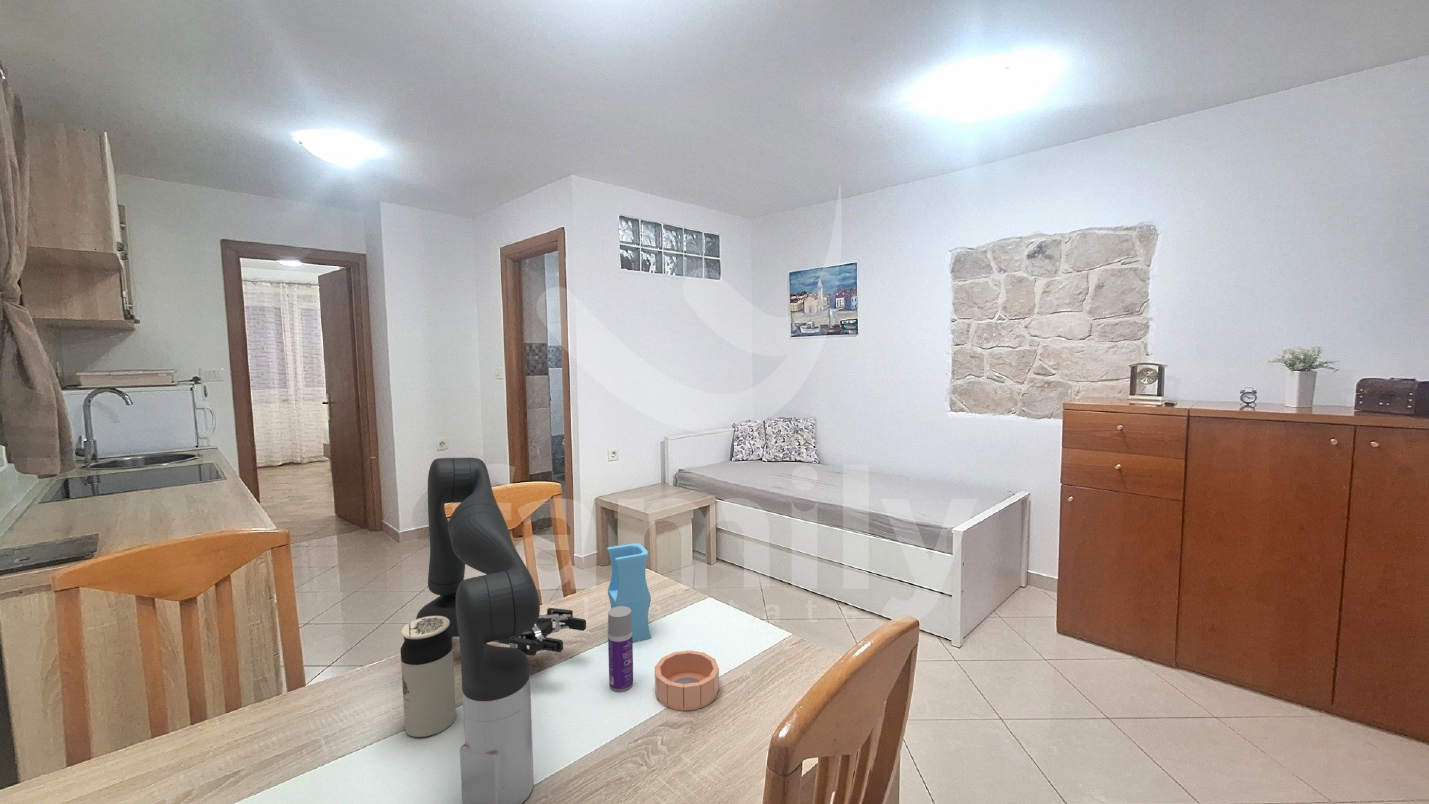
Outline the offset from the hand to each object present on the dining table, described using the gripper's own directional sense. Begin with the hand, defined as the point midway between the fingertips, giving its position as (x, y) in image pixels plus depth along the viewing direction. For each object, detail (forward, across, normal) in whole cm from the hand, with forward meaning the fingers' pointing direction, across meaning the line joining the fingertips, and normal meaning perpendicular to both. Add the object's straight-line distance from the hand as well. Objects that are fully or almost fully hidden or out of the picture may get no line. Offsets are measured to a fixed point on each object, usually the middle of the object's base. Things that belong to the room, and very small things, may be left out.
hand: (574, 635), depth 110 cm
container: (+10, 0, +9) cm, 13 cm away
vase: (+3, +18, +9) cm, 20 cm away
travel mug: (-17, -20, +9) cm, 27 cm away
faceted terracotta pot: (+23, +2, +8) cm, 25 cm away
